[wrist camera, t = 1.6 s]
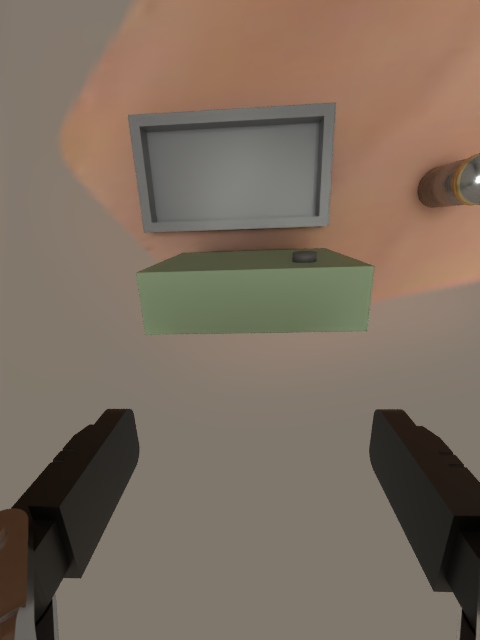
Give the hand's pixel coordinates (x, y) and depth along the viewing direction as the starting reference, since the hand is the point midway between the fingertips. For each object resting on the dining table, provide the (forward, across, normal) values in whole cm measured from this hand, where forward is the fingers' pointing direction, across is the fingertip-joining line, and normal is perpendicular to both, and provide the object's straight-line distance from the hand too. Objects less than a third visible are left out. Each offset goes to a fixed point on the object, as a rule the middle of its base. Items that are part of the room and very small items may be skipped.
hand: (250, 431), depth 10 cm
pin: (+27, -20, -10) cm, 35 cm away
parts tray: (+27, +2, -12) cm, 29 cm away
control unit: (+27, 0, -2) cm, 27 cm away
